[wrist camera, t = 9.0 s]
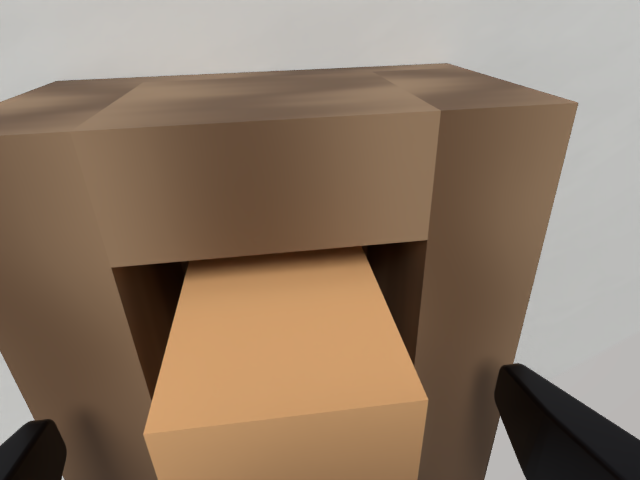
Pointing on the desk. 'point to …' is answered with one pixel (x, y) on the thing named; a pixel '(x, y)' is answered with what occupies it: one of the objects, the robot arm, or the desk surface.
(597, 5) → the desk surface
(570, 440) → the robot arm
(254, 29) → the desk surface
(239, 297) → the peg
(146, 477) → the socket
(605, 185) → the desk surface
